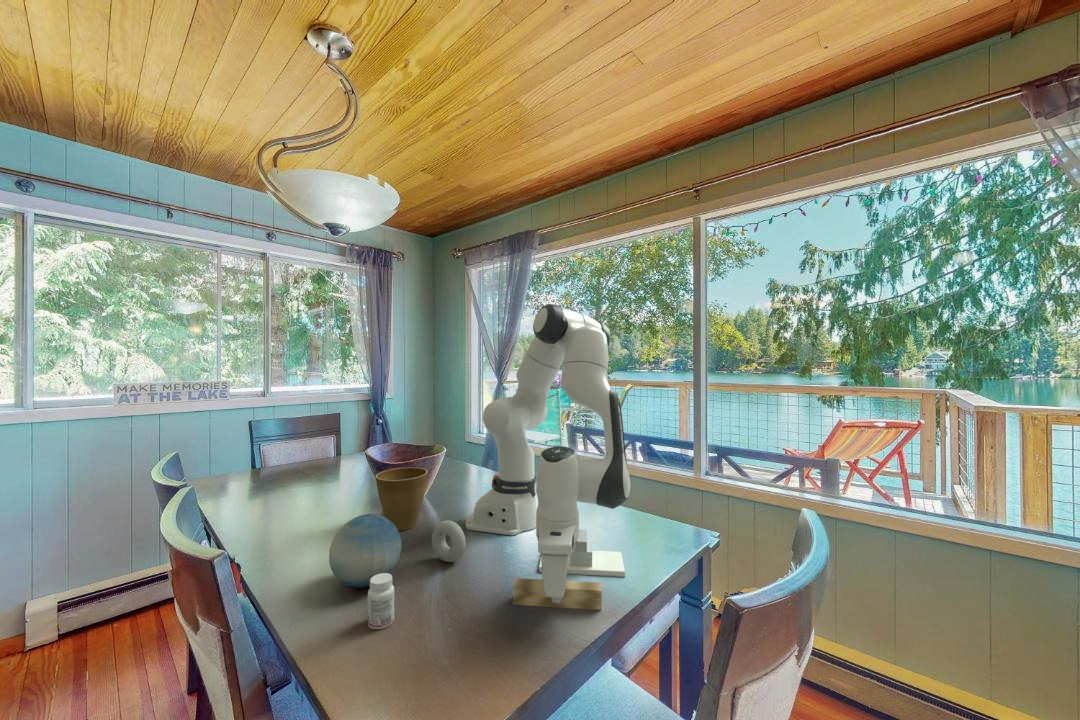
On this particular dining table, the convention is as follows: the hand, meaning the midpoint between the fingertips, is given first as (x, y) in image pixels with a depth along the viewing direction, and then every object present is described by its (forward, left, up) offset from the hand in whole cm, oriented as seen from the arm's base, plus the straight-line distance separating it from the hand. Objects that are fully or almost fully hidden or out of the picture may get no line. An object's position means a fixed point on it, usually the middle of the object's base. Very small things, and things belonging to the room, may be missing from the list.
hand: (557, 594), depth 86 cm
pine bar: (0, 0, -2) cm, 2 cm away
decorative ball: (-43, +3, -2) cm, 43 cm away
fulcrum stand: (+5, +17, -2) cm, 18 cm away
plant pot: (-49, +35, -2) cm, 60 cm away
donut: (-28, +15, -2) cm, 32 cm away
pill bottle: (-33, -10, -2) cm, 35 cm away
